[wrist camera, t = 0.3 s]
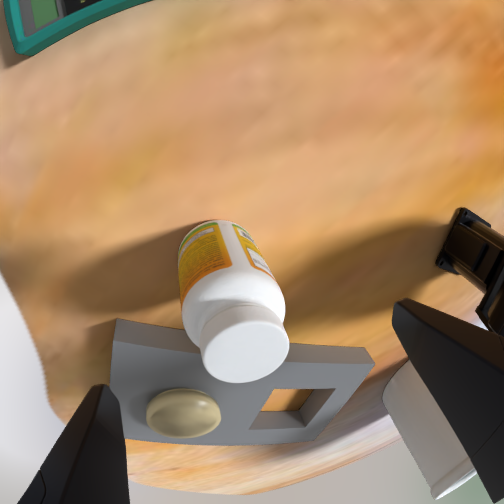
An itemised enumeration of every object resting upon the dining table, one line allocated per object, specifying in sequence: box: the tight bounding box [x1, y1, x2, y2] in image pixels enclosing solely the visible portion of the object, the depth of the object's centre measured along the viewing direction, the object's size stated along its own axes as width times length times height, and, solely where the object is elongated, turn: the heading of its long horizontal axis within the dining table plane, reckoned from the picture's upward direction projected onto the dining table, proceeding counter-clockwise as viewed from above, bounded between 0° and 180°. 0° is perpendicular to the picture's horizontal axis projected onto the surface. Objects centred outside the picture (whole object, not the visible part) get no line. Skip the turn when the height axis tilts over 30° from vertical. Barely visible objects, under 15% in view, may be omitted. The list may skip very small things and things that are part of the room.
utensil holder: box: [382, 360, 477, 500], centre depth 30 cm, size 15×15×18 cm
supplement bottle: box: [178, 220, 289, 383], centre depth 18 cm, size 5×5×10 cm
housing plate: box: [109, 319, 375, 446], centre depth 28 cm, size 24×14×4 cm, turn 70°
